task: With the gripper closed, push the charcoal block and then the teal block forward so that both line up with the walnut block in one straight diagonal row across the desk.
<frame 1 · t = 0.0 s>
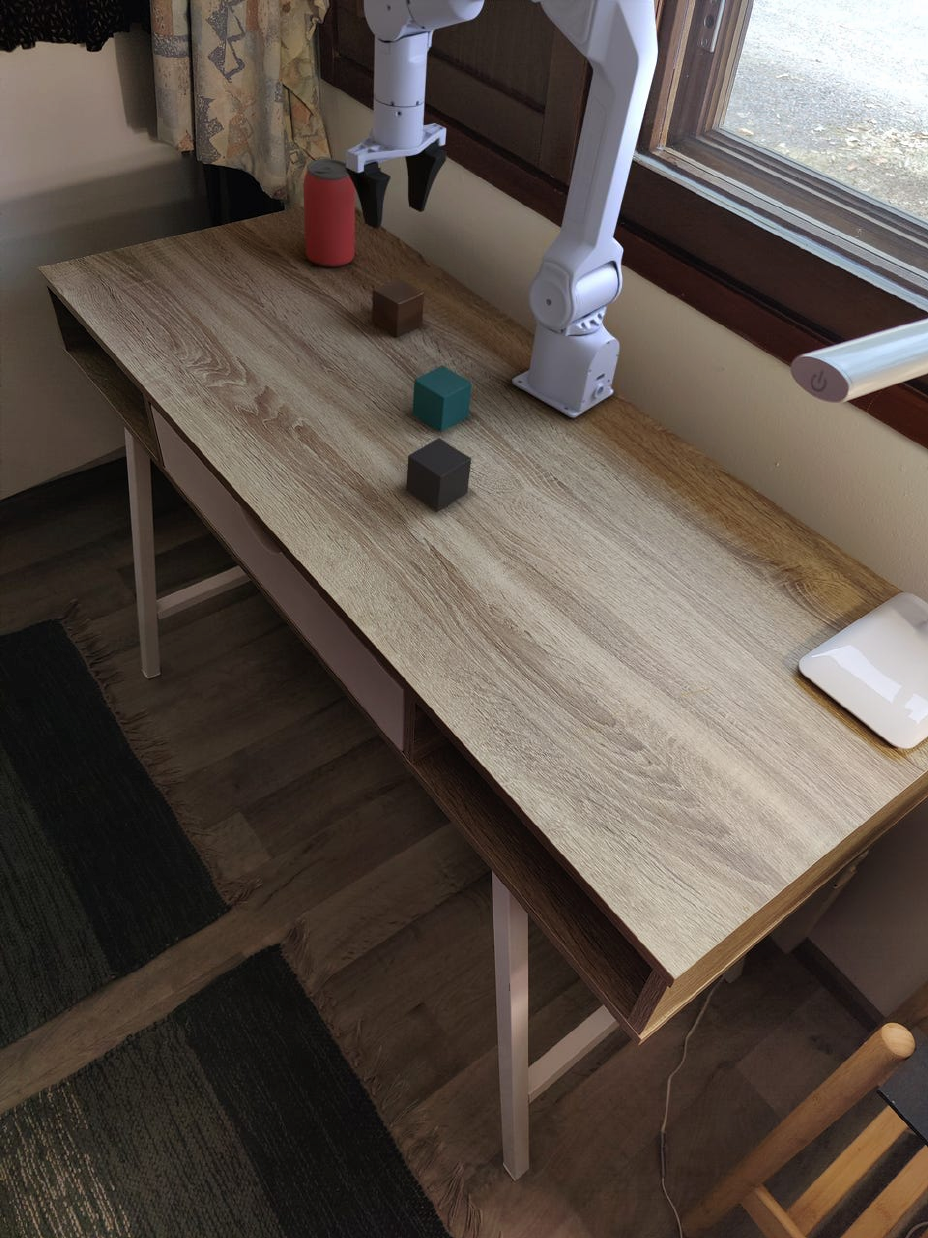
hand: (394, 216, 118), 10 cm above the table, tool pointing down, fingers open, 7 cm apart
charcoal block: (436, 491, 98), on the table
beer can: (330, 258, 130), on the table
walnut block: (397, 324, 120), on the table
teal block: (440, 415, 107), on the table
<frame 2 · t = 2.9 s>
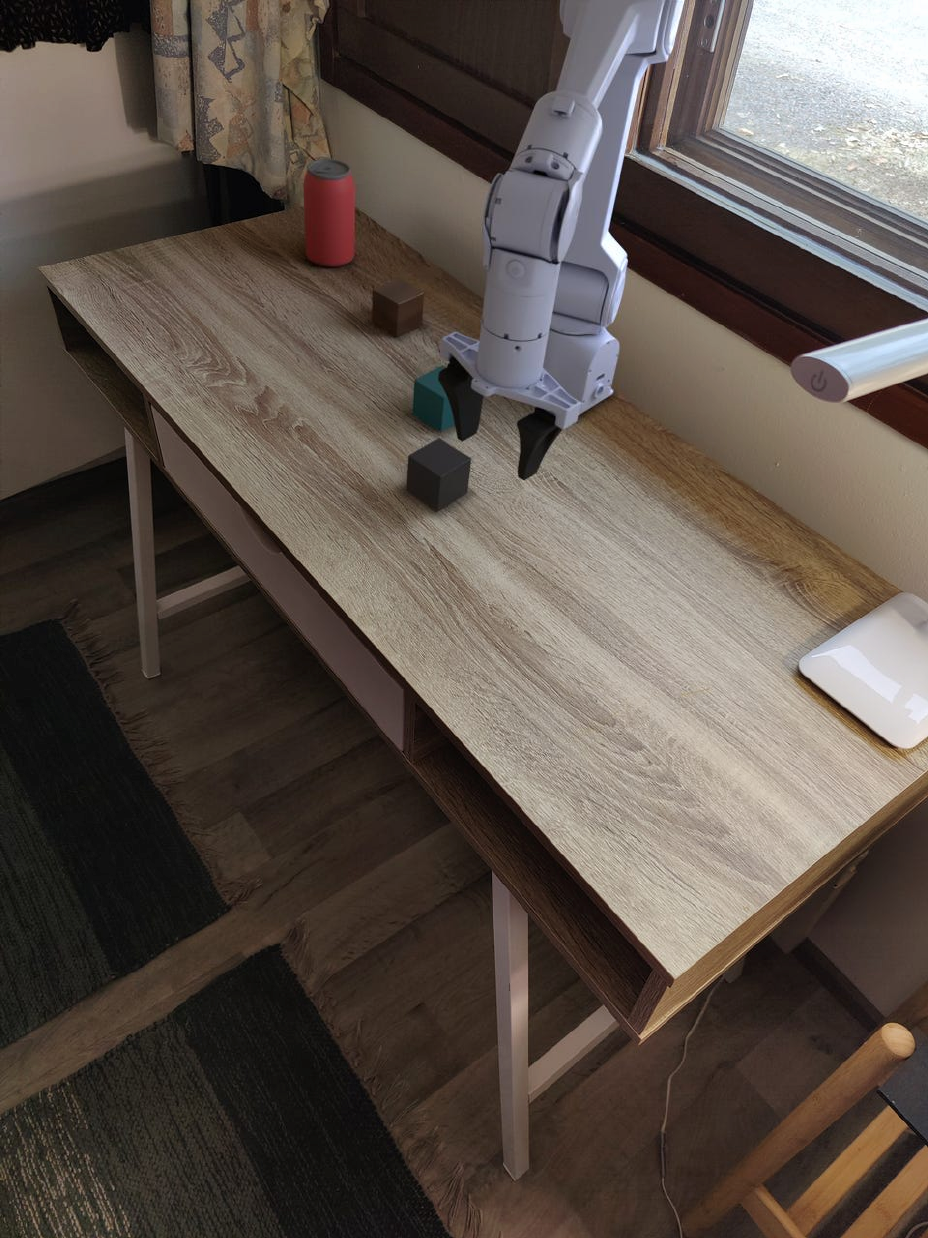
hand: (496, 454, 89), 8 cm above the table, tool pointing down, fingers open, 7 cm apart
nothing on the table moved.
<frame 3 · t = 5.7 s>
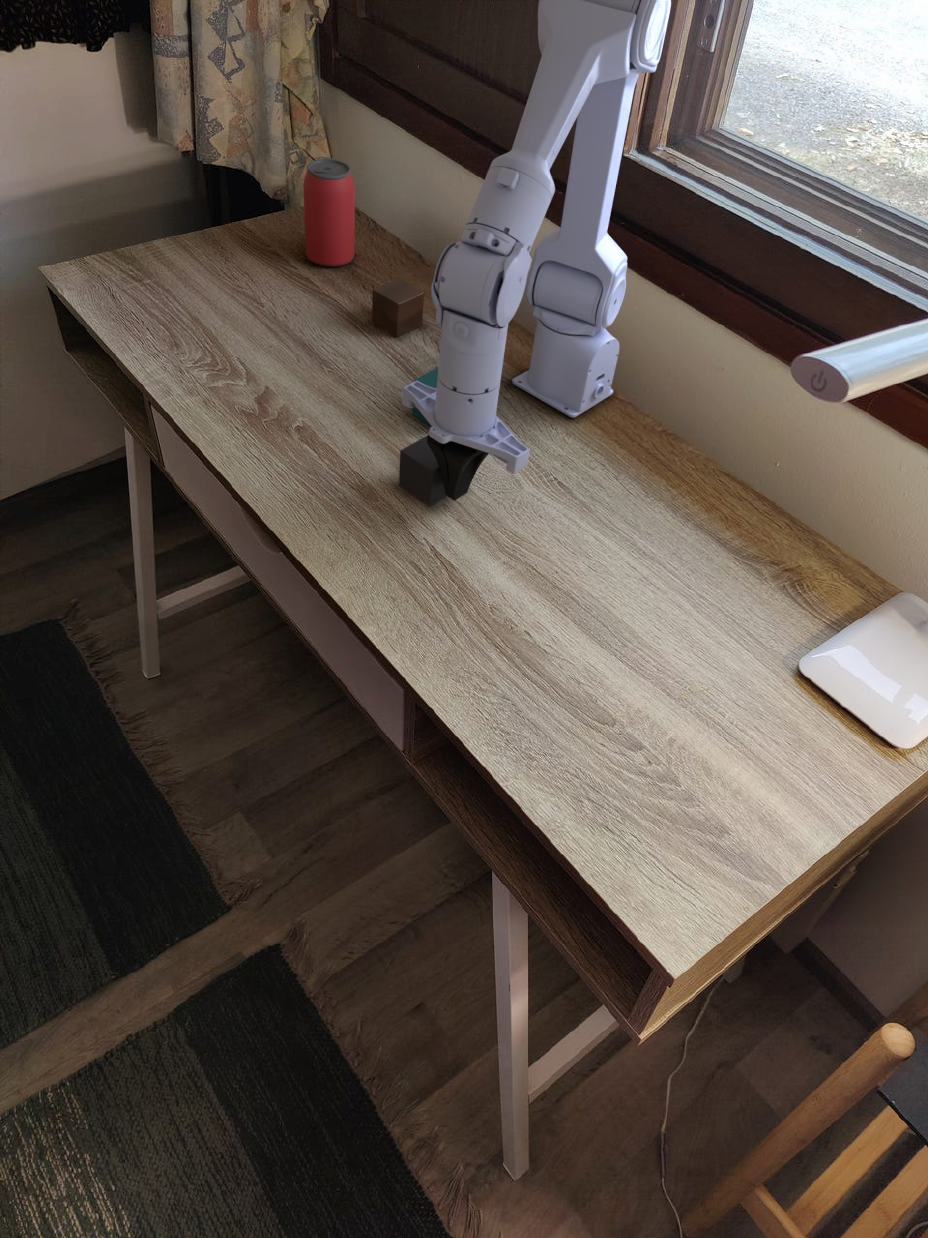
hand: (456, 493, 96), 1 cm above the table, tool pointing down, fingers closed
charcoal block: (429, 487, 99), on the table, touching gripper
everything else where it was.
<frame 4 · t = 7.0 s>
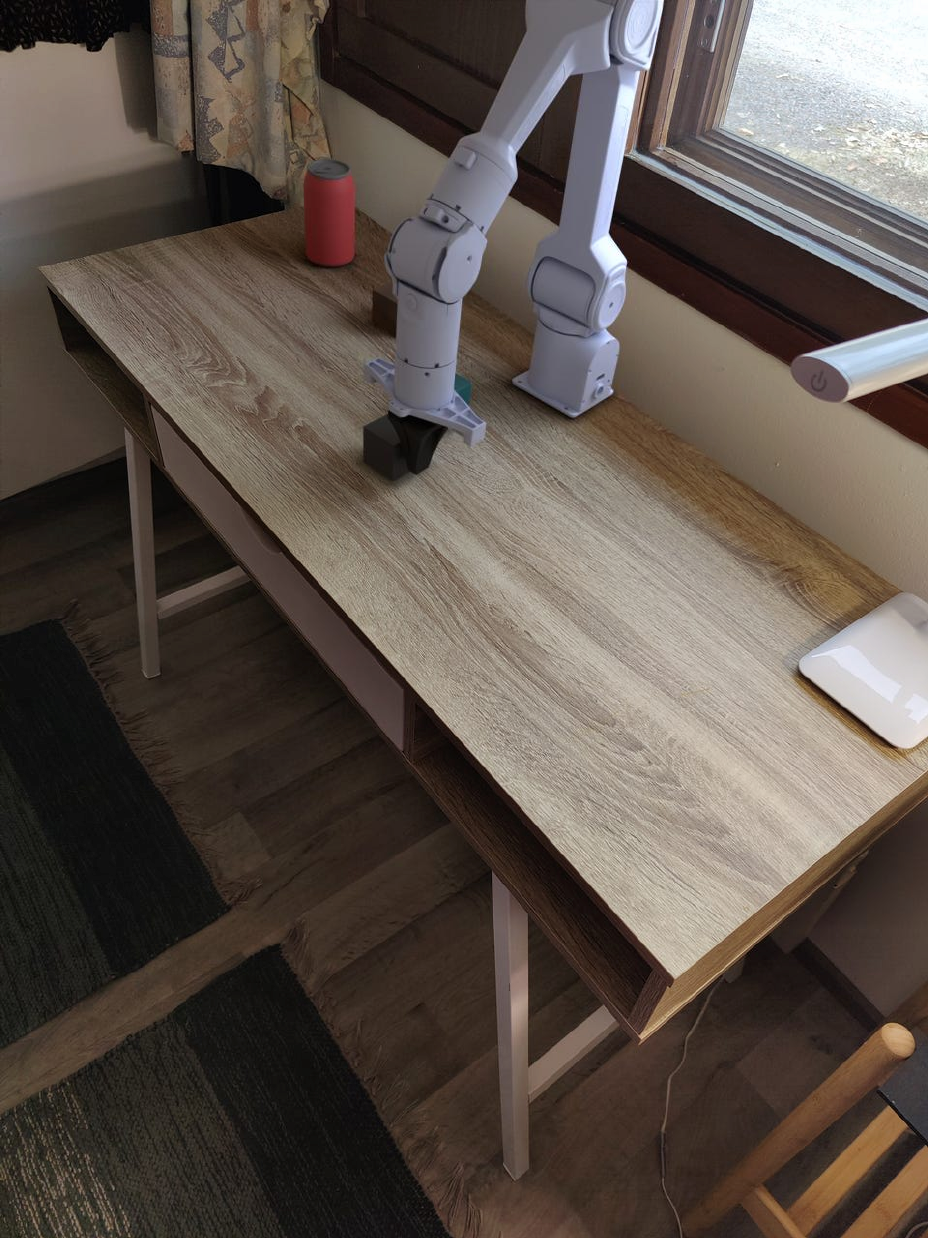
hand: (418, 468, 98), 1 cm above the table, tool pointing down, fingers closed
charcoal block: (393, 463, 101), on the table, touching gripper
everything else where it was.
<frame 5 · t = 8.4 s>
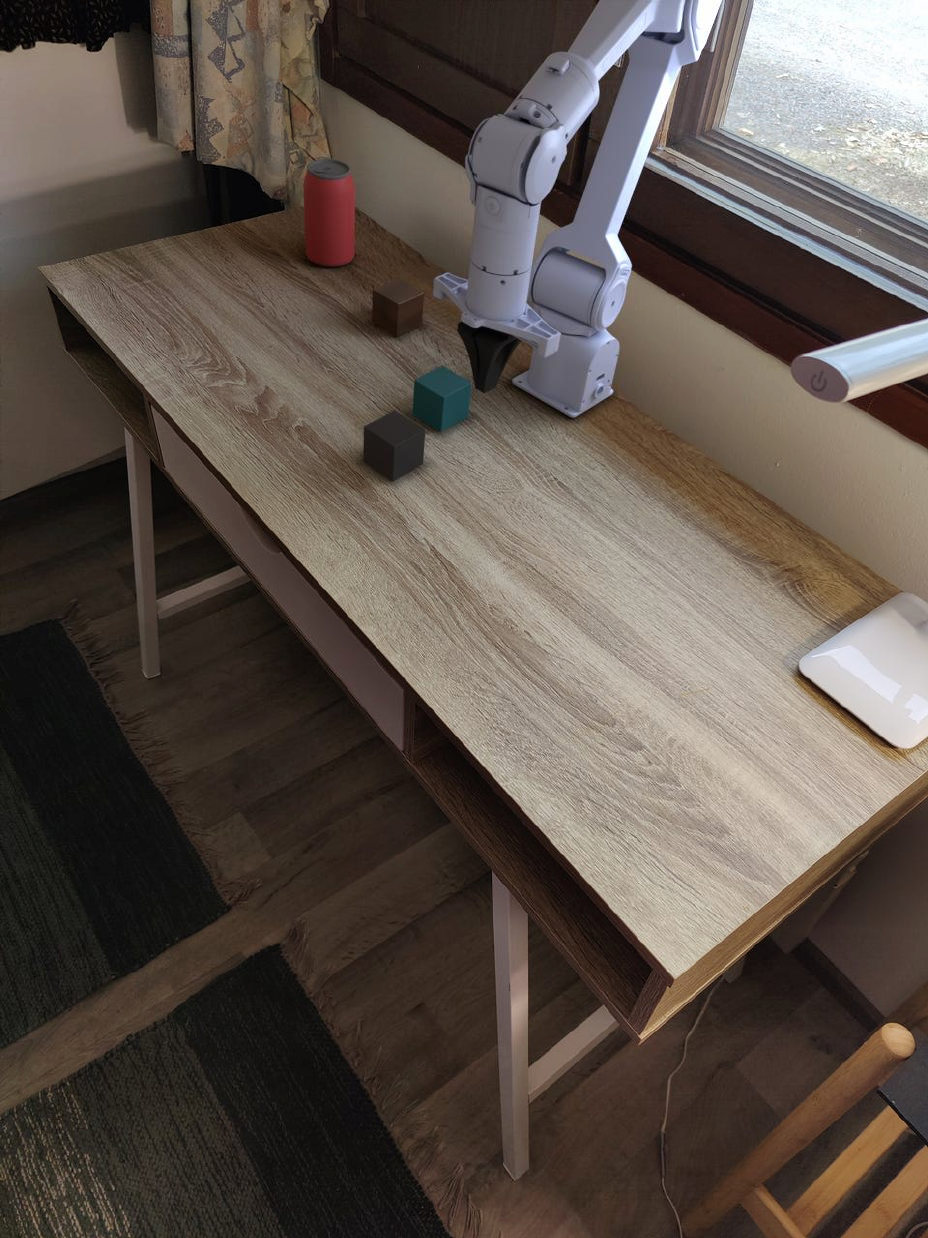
hand: (485, 387, 98), 8 cm above the table, tool pointing down, fingers closed
charcoal block: (393, 462, 101), on the table
everything else where it was.
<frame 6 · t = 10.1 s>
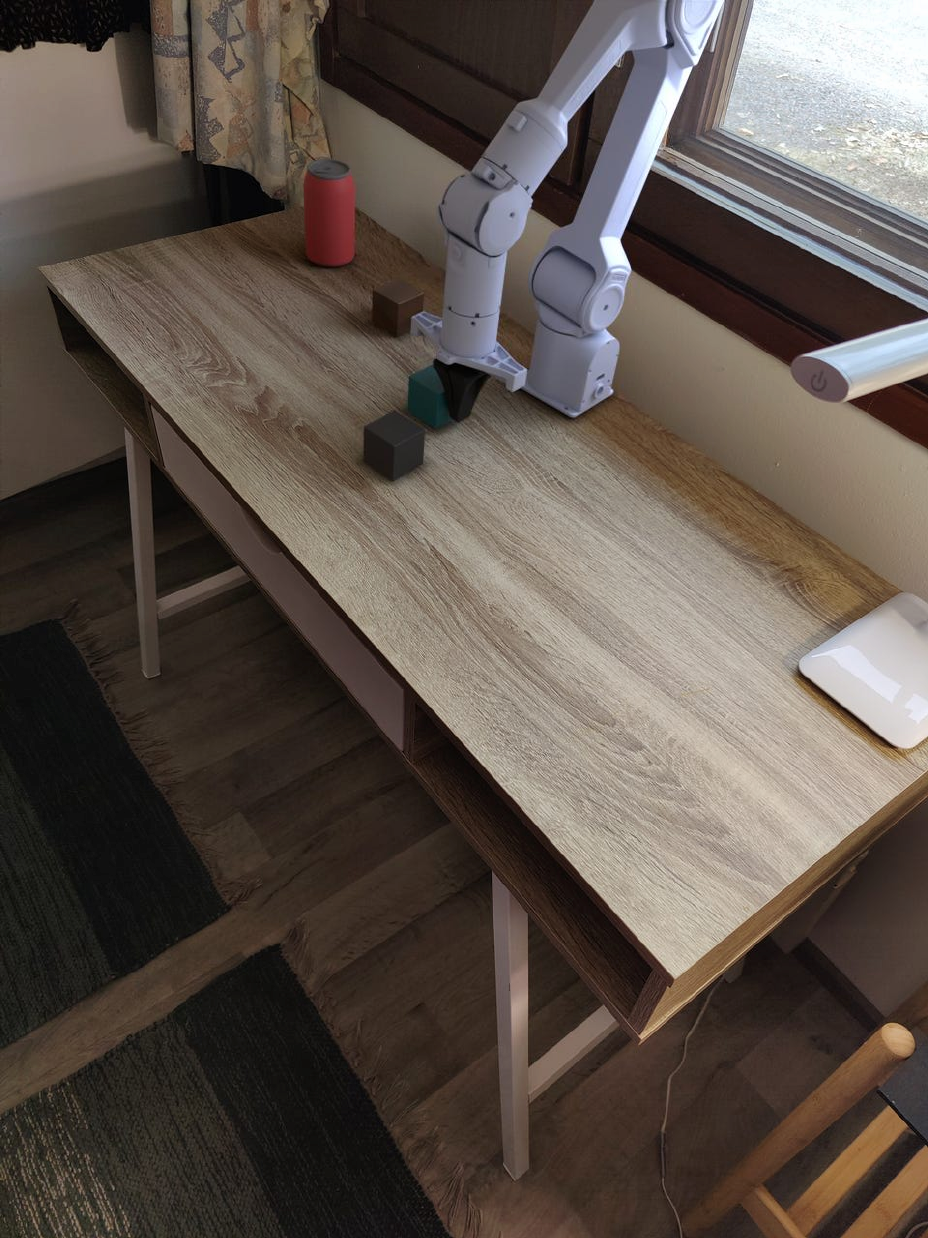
hand: (460, 416, 105), 1 cm above the table, tool pointing down, fingers closed
teal block: (434, 412, 108), on the table, touching gripper
everything else where it was.
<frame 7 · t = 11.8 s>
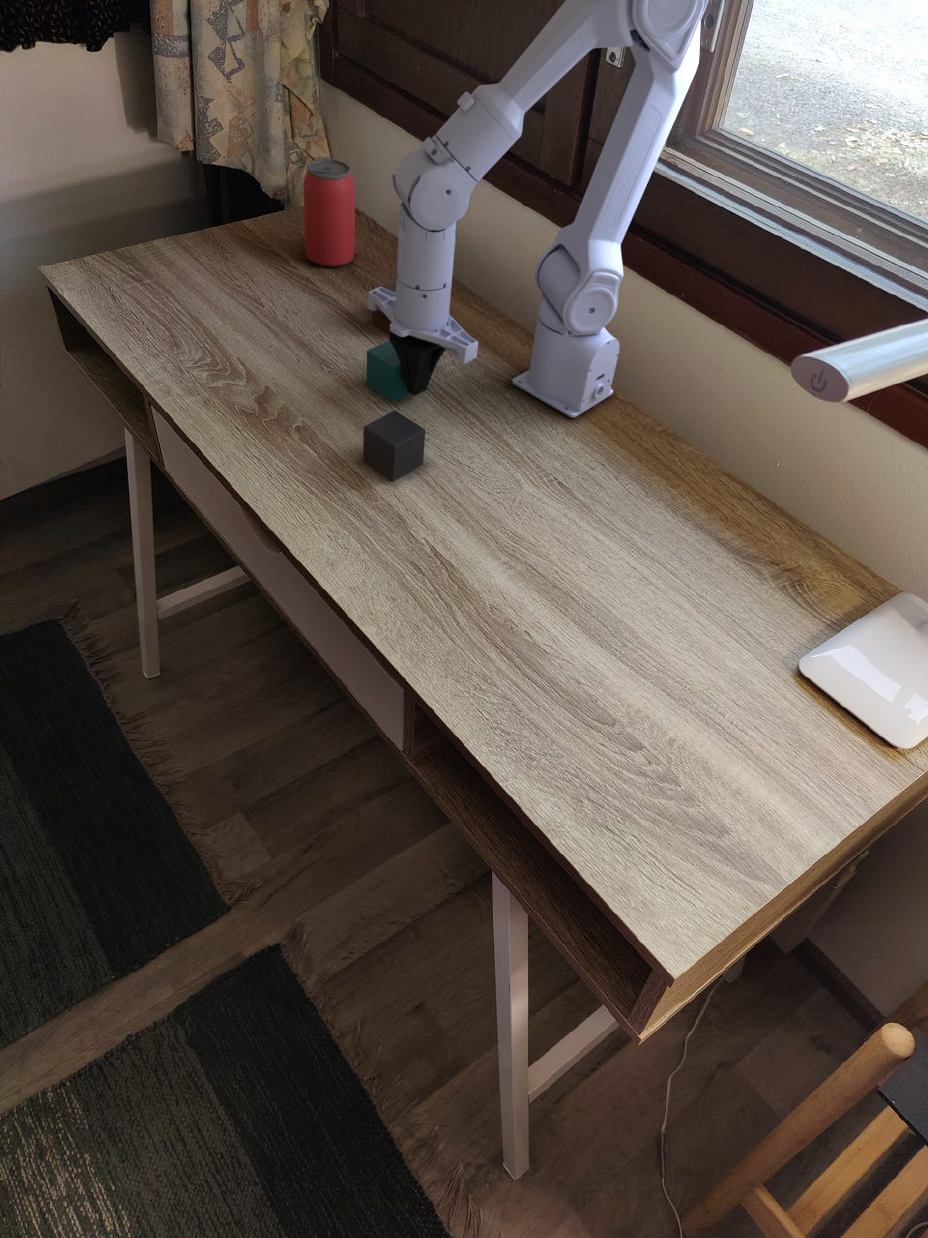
hand: (417, 390, 108), 1 cm above the table, tool pointing down, fingers closed
teal block: (393, 386, 110), on the table, touching gripper
everything else where it was.
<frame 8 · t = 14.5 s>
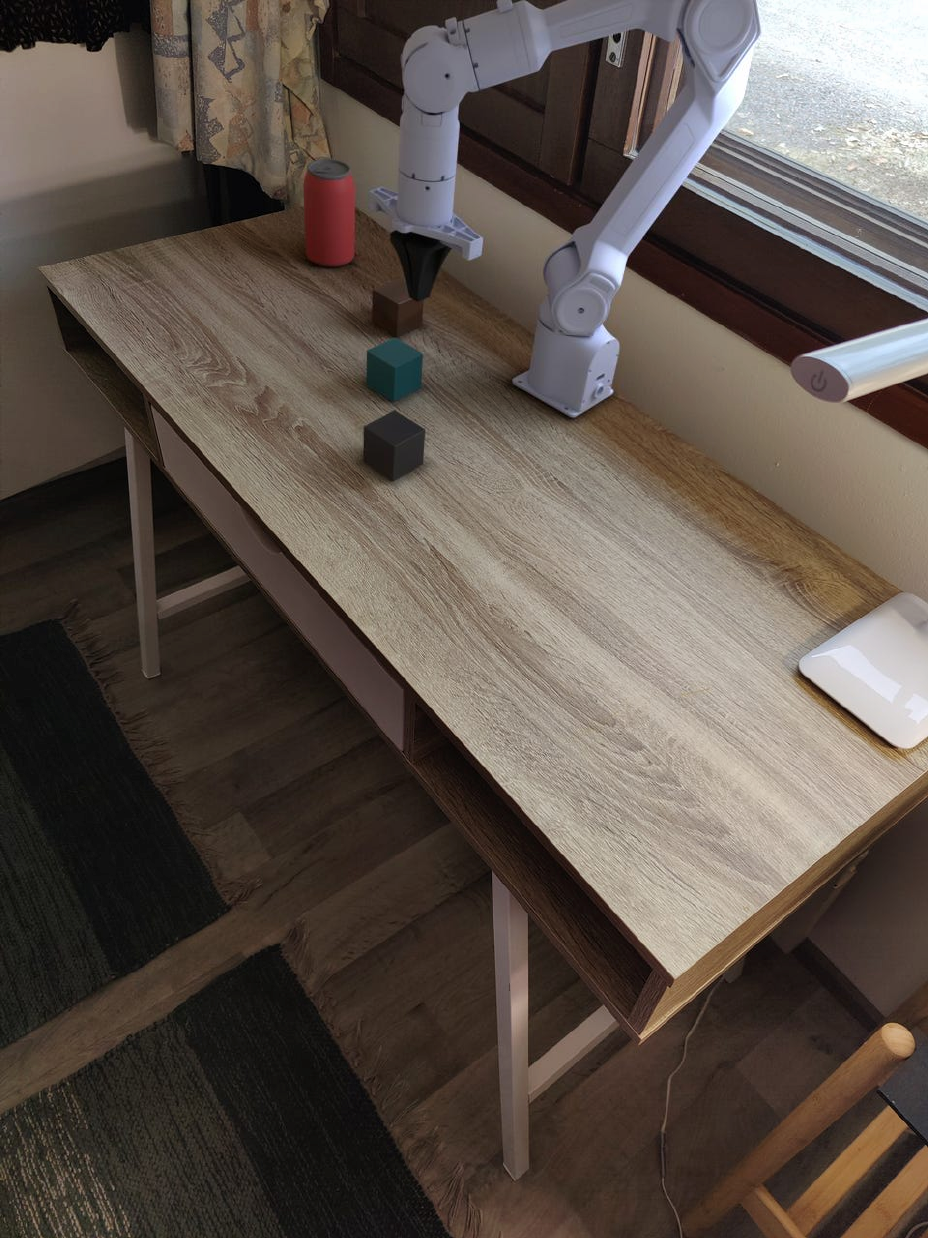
hand: (419, 296, 104), 10 cm above the table, tool pointing down, fingers closed
teal block: (393, 386, 110), on the table
everything else where it was.
at the end: charcoal block 0.3 cm from the target spot on the table beside the walnut block, on the table; teal block 0.4 cm from the target spot on the table beside the walnut block, on the table; walnut block moved 0.0 cm from its start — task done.
